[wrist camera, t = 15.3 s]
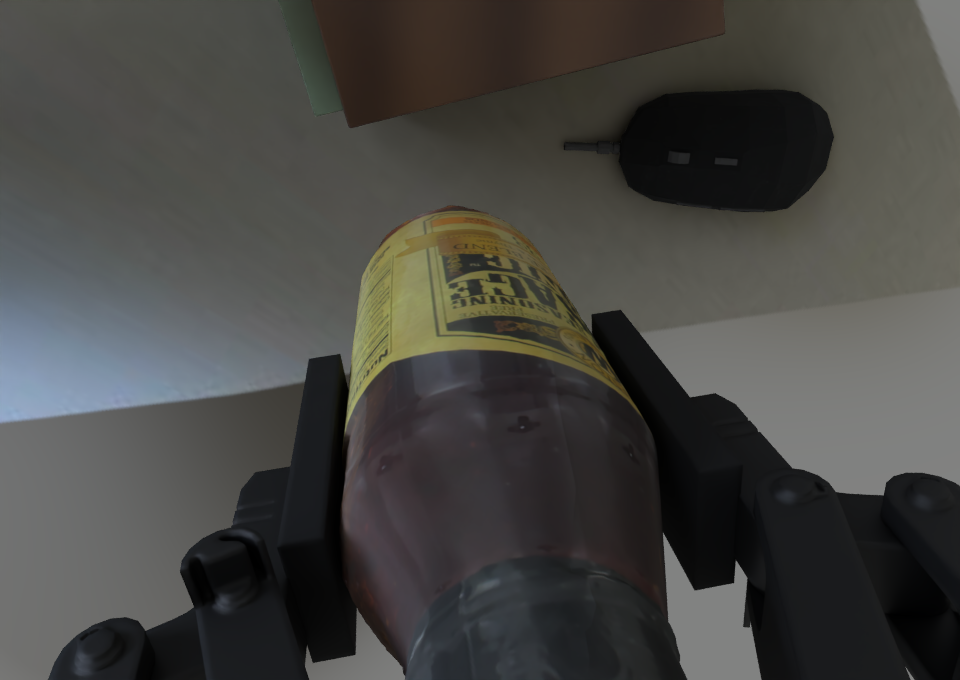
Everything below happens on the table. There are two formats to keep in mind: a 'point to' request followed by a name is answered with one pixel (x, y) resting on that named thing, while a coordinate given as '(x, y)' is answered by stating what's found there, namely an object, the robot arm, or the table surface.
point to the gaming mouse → (724, 149)
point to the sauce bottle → (496, 470)
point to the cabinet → (488, 45)
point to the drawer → (311, 56)
